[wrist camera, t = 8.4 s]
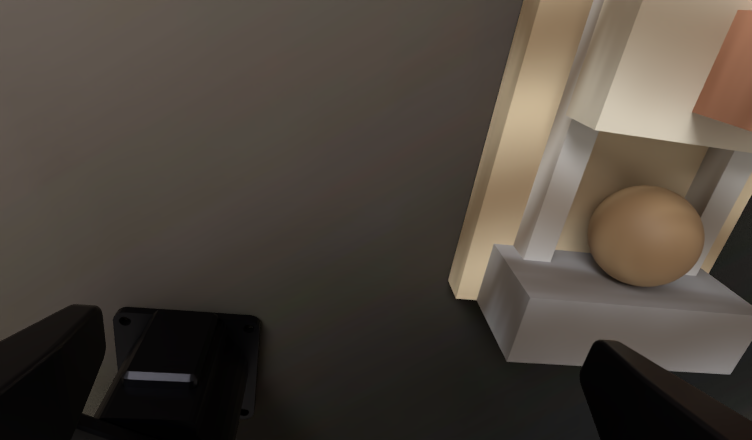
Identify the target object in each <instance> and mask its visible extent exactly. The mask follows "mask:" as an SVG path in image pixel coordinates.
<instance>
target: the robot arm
mask: <svg viewBox="0 0 752 440" xmlns="http://www.w3.org/2000/svg"><path fill="white" fill-rule="evenodd" d="M123 317H128V318H129V319H130V320H125V319H124V318H123ZM113 325H114V335H115V346H116V356H117V366H118V373H117V375H116V376H115V378H114V380H113V382H112V384H111V386H110V387H109V389H108V391H107V393H106V395H105V397H104V398H103V400H102V402H101V404H100V406H99V408H98V410H97V411H96V413H95V415H94V417H91V416H89V415H86V414H83V413H82V411H83V409H84V406H85V404H86V401H87V399H88V396H89V394H90V391H91V389H92V386H93V384H94V381H95V379H96V376H97V374H98V371H99V369H100V366H101V364H102V361H103V359H104V355H105V350H106V342H105V333H104V324H103V315H102V311H101V309H100V308H99V307H98V306H94V305H79V304H73V305H70V306H68V307H66V308H64V309H62V310H60V311H58V312H56V313H54V314H52V315H50V316H48V317H46V318H44V319H42V320H41V321H39V322H37V323H35V324H33V325H31V326H29V327H27V328H25V329H23V330H21V331H19V332H17V333H15V334H13V335H12V336H10V337H8V338H6V339H4V340H2V341H0V440H235V438H236V433H237V428H238V423H239V419H248V418H251V417H252V416H253V414H254V409H255V397H256V383H257V368H258V354H259V340H260V325H261V324H260V320H259V319H258V318H257V317H255V316H251V315H238V314H224V313H210V312H195V311H180V310H165V309H149V308H134V307H123V308H121V309H119V310H118V311H117V313H116V314H115V316H114V318H113ZM246 325H252V326H253V328H248V327H246ZM580 383H581V386H582V389H583V392H584V395H585V397H586V400H587V403H588V406H589V409H590V411H591V414H592V417H593V420H594V423H595V425H596V428H597V431H598V434H599V437H600V439H601V440H752V421H750V420H748V419H747V418H745V417H743V416H742V415H740V414H738V413H737V412H735V411H734V410H732V409H730V408H729V407H727V406H725V405H724V404H722V403H720V402H719V401H717V400H715V399H714V398H712V397H710V396H709V395H707V394H705V393H704V392H702V391H700V390H699V389H697V388H695V387H694V386H692V385H690V384H689V383H687V382H686V381H684V380H682V379H681V378H679V377H677V376H676V375H674V374H672V373H671V372H669V371H667V370H666V369H664V368H662V367H661V366H659V365H657V364H656V363H654V362H652V361H651V360H649V359H647V358H646V357H644V356H643V355H641V354H639V353H638V352H636V351H634V350H633V349H631V348H629V347H628V346H626V345H624V344H623V343H621V342H619V341H616V340H603V339H599V340H596V341H595V342H594V343H593V344H592V346H591V348H590V350H589V352H588V355H587V357H586V359H585V361H584V363H583V366H582V368H581V370H580ZM243 409H247V410H243Z"/></svg>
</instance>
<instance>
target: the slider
mask: <svg viewBox="0 0 752 440" xmlns="http://www.w3.org/2000/svg"><path fill="white" fill-rule="evenodd" d="M566 116H568V117H570V118H572V119H574V120H576V121H578V122H580V123H582V124H584V125H586V126H588V127H590V128H592V129H593V130H597V131H604V132H611V133H617V134H624V135H631V136H638V137H645V138H652V139H659V140H665V141H672V142H679V143H686V144H693V145H700V146H707V147H713V148H720V149H727V150H734V151H741V152H748V153H752V0H604V2H603V5H602V8H601V11H600V14H599V17H598V20H597V23H596V26H595V29H594V32H593V35H592V38H591V41H590V44H589V47H588V50H587V53H586V56H585V59H584V62H583V65H582V68H581V71H580V74H579V77H578V80H577V83H576V86H575V89H574V92H573V95H572V98H571V101H570V104H569V107H568V109H567V112H566Z"/></svg>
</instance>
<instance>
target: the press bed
mask: <svg viewBox="0 0 752 440" xmlns="http://www.w3.org/2000/svg"><path fill="white" fill-rule="evenodd" d="M603 2H604V0H523V4H522V8H521V12H520V15H519V19H518V23H517V26H516V30H515V34H514V38H513V41H512V45H511V49H510V52H509V56H508V60H507V64H506V67H505V71H504V75H503V78H502V82H501V86H500V90H499V93H498V97H497V101H496V104H495V108H494V112H493V116H492V119H491V123H490V127H489V130H488V134H487V138H486V142H485V145H484V149H483V153H482V156H481V160H480V164H479V167H478V171H477V175H476V179H475V182H474V186H473V190H472V193H471V197H470V201H469V205H468V208H467V212H466V216H465V219H464V223H463V227H462V231H461V234H460V238H459V242H458V245H457V249H456V253H455V257H454V260H453V264H452V268H451V271H450V275H449V279H448V281H449V284H450V286H451V288H452V291H453V293H454V295H455V298H456V299H469V300H477V302H478V304H479V306H480V308H481V310H482V312H483V314H484V316H485V318H486V320H487V322H488V324H489V326H490V329H491V331H492V333H493V335H494V337H495V339H496V341H497V343H498V345H499V347H500V349H501V351H502V353H503V355H504V357H505V359H506V361H507V362H522V363H539V364H557V365H574V366H583V363H584V361H585V359H586V357H587V355H588V352H589V350H590V348H591V346H592V344H593V343H594V342H595V341H596V340H599V339H603V340H616V341H619V342H621V343H623V344H624V345H626V346H628V347H629V348H631V349H633V350H634V351H636V352H638V353H639V354H641V355H643V356H644V357H646V358H647V359H649V360H651V361H652V362H654V363H656V364H657V365H659V366H661V367H662V368H664V369H666V370H667V371H680V372H698V373H716V374H731V372H732V371H733V369H734V368H735V366H736V364H737V363H738V361H739V360H740V358H741V357H742V355H743V354H744V352H745V350H746V349H747V347H748V346H749V344H750V343H751V341H752V305H750V304H749V303H748V302H746V301H745V300H744V299H742V298H741V297H739V296H738V295H737V294H735V293H734V292H733V291H731V290H730V289H729V288H727V287H726V286H724V285H723V284H722V283H720V282H719V281H718V280H716V279H715V278H714V277H712V276H711V275H710V274H709V272H710V270H711V268H712V266H713V264H714V263H715V261H716V259H717V257H718V255H719V253H720V252H721V250H722V248H723V246H724V244H725V243H726V241H727V239H728V237H729V235H730V233H731V232H732V230H733V228H734V226H735V224H736V222H737V221H738V219H739V217H740V215H741V213H742V211H743V210H744V208H745V206H746V204H747V202H748V200H749V199H750V197H751V195H752V153H748V152H741V151H734V150H727V149H720V148H713V147H707V146H700V145H693V144H686V143H679V142H672V141H665V140H659V139H652V138H645V137H638V136H631V135H624V134H617V133H611V132H604V131H597V130H593V129H592V128H590V127H588V126H586V125H584V124H582V123H580V122H578V121H576V120H574V119H572V118H570V117H568V116H566V112H567V109H568V107H569V104H570V101H571V98H572V95H573V92H574V89H575V86H576V83H577V80H578V77H579V74H580V71H581V68H582V65H583V62H584V59H585V56H586V53H587V50H588V47H589V44H590V41H591V38H592V35H593V32H594V29H595V26H596V23H597V20H598V17H599V14H600V11H601V8H602V5H603ZM639 185H650V186H658V187H662V188H666V189H669V190H671V191H673V192H675V193H677V194H679V195H681V196H682V197H683V198H685V199H686V200H687V201H688V202H689V203H690V204H691V205H692V206H693V207H694V208H695V209H696V211H697V213H698V214H699V216H700V218H701V221H702V223H703V227H704V234H705V241H704V246H703V250H702V253H701V256H700V258H699V259H698V261H697V263H696V264H695V265H694V267H693V268H692V269H691V270H690V271H689V272H688V273H686V274H685V275H684V276H682V277H681V278H679V279H677V280H675V281H673V282H671V283H668V284H665V285H660V286H654V287H640V286H634V285H629V284H626V283H623V282H621V281H619V280H617V279H615V278H613V277H611V276H610V275H608V274H607V273H606V272H605V271H604V270H603V269H602V268H601V267H600V266H599V265H598V264H597V262H596V261H595V260H594V258H593V256H592V254H591V252H590V248H589V245H588V238H587V232H588V225H589V222H590V219H591V217H592V214H593V213H594V211H595V209H596V208H597V207H598V205H599V204H600V203H601V202H602V201H603V200H605V199H606V198H607V197H608V196H610V195H611V194H613V193H615V192H617V191H619V190H622V189H624V188H628V187H632V186H639Z"/></svg>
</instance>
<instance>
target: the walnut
mask: <svg viewBox="0 0 752 440" xmlns="http://www.w3.org/2000/svg"><path fill="white" fill-rule="evenodd" d="M587 238H588V245H589V248H590V252H591V254H592V256H593V258H594V260H595V261H596V262H597V264H598V265H599V266H600V267H601V268H602V269H603V270H604V271H605V272H606V273H607V274H608V275H610V276H611V277H613V278H615V279H617V280H619V281H621V282H623V283H626V284H629V285H634V286H640V287H654V286H660V285H665V284H668V283H671V282H673V281H675V280H677V279H679V278H681V277H682V276H684V275H685V274H686V273H688V272H689V271H690V270H691V269H692V268H693V267H694V265H695V264H696V263H697V261H698V259H699V258H700V256H701V253H702V250H703V246H704V241H705V234H704V227H703V223H702V221H701V218H700V216H699V214H698V213H697V211H696V209H695V208H694V207H693V206H692V205H691V204H690V203H689V202H688V201H687V200H686V199H685V198H683V197H682V196H681V195H679V194H677V193H675V192H673V191H671V190H669V189H666V188H662V187H658V186H650V185H639V186H632V187H628V188H624V189H622V190H619V191H617V192H615V193H613V194H611V195H610V196H608V197H607V198H606V199H605V200H603V201H602V202H601V203H600V204H599V205H598V207H597V208H596V209H595V211H594V213H593V214H592V217H591V219H590V222H589V225H588V232H587Z"/></svg>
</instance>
